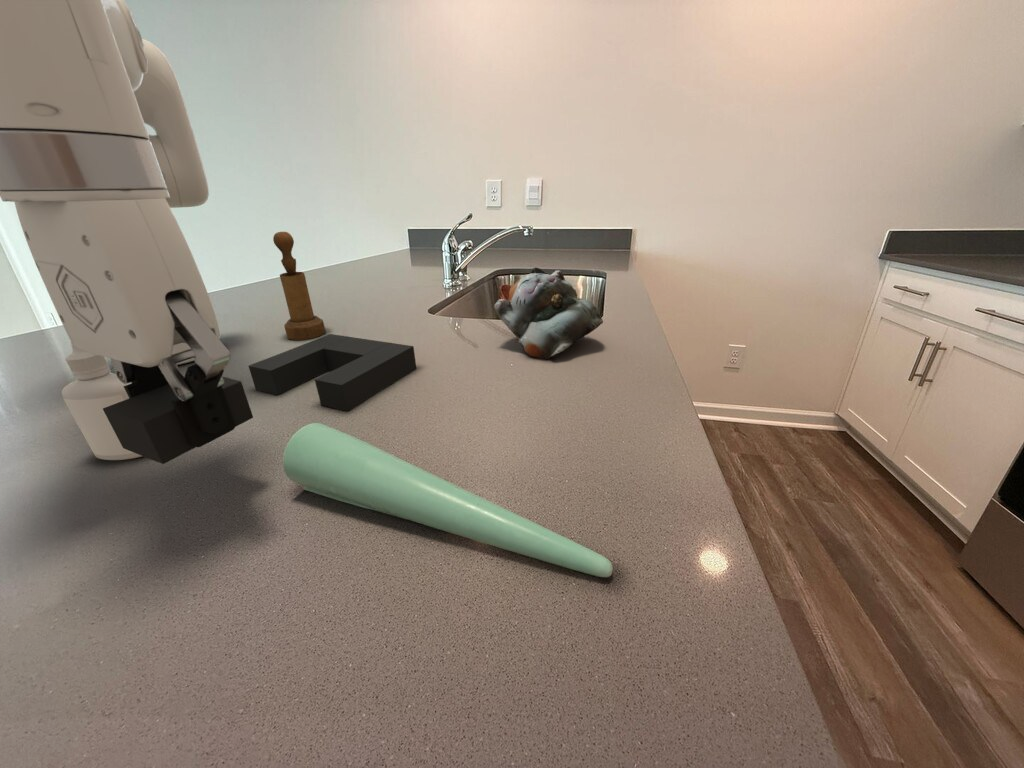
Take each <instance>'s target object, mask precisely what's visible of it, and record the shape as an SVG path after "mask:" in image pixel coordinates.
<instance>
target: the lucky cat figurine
mask: <svg viewBox="0 0 1024 768" xmlns="http://www.w3.org/2000/svg"><path fill="white" fill-rule="evenodd" d="M499 290H500V291H499V295H498V296H499V297H498V298H497V301H496V302H495V304H494V305H493V307H494V310H495V314H497V316H498V317H499V319H500V320H501V322H502V323H503V324H504V325H505V326H506V327H507V328H508V329H509V331H510V332H511V333H512V334H514V336H515V337H516V338H517V339H518V341H519V342H520V343H521V345H522V346H523V350H524V351H525V353H526V354H528V355H529V356H530V357H534V358H538V359H539V358H540V359H545V360H549V359H551V357H554V356H556V355H558V354H560V353H562V352H564V351H565V350H567V349H568V348H569V347H571V346H572V345H573V344H574V343H576V342H578V341H580V340H581V339H582V338H584V337H586V336H588V335H589V334H591V333H592V332H594V331H595V330H596V329H598V328H599V327H600V326H601V325H603V324H604V320H603V318H602V315H601V314H600V311H599V309H598V308H597V306H596V305H595V304H594V303H593V302H592V301H590V300H588V299H586V298H580V297H578V293H577V290H576V289H575V288H574V286H573V285H572V284H571V283H570V282H569V281H567V280H566V279H565V274H564V273H563V271H562V270H560V269H559V270H555V271H554V272H552V273H551V274H549V273H546V272H545V271H544V270H542V269H541V268H539V267H533V268H532V269H531V271H530V272H529V273H528V274H525V275H523V276H522V277H521V278H519V279H518V280H517V281H516V282H515V283H514V285H513V284H507V283H505V284H501V285H500V286H499Z"/></svg>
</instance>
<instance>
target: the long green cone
mask: <svg viewBox="0 0 1024 768" xmlns="http://www.w3.org/2000/svg"><path fill="white" fill-rule="evenodd" d="M282 456H283V457H282V467H283V471H284V474H285V475H286V477H287V478H288V480H290V481H291V482H293V483H295V484H297V485H301V487H302V489H303V490H304V491H308V492H312V493H314V494H317V495H320V496H324V497H327V498H330V499H332V500H335V501H338V502H339V501H340V502H343V503H347V504H350V505H353V506H357V507H360V508H364V509H369V510H373V511H376V512H379V513H383V514H386V515H390V516H394V517H396V518H400V519H404V520H407V521H410V522H413V523H418V524H421V525H424V526H426V527H430V528H434V529H437V530H440V531H444V532H447V533H450V534H453V535H457V536H459V537H463V538H466V539H469V540H473V541H477V542H480V543H483V544H485V545H490V546H493V547H495V548H499V549H502V550H506V551H509V552H513V553H516V554H519V555H522V556H526V557H530V558H533V559H535V560H539V561H543V562H546V563H549V564H553V565H555V566H560V567H563V568H566V569H570V570H573V571H577V572H581V573H584V574H587V575H591V576H595V577H598V578H599V577H600V578H610V577H611V576H612V574H613V572H614V571H613V570H614V569H613V567H614V566H613V564H612V562H611V561H610V560H609V559H608V558H607V557H606V556H604V555H602V554H600V553H597V552H596V551H594V550H592V549H590V548H588V547H586V546H584V545H582V544H580V543H578V542H576V541H574V540H572V539H569V538H568V537H566V536H563V535H561V534H559V533H558V532H555V531H553V530H551V529H549V528H546V527H544V526H543V525H541V524H538V523H536V522H534V521H532V520H530V519H528V518H526V517H524V516H522V515H520V514H517V513H515V512H513V511H511V510H509V509H507V508H505V507H502V506H501V505H499V504H497V503H494V502H492V501H490V500H488V499H487V498H484V497H481V496H480V495H478V494H475V493H473V492H471V491H469V490H467V489H465V488H463V487H462V486H458V485H456V484H455V483H453V482H450V481H448V480H446V479H445V478H442V477H440V476H438V475H436V474H434V473H431V472H429V471H427V470H425V469H423V468H421V467H419V466H416V465H415V464H412V463H410V462H408V461H406V460H404V459H402V458H400V457H397V456H396V455H393V454H392V453H389V452H387V451H385V450H383V449H381V448H379V447H376V446H375V445H372V444H371V443H369V442H366V441H364V440H362V439H359V438H357V437H355V436H353V435H351V434H348V433H345V432H344V431H341V430H338V429H336V428H333V427H331V426H328V425H326V424H323V423H319V422H314V423H309V424H306V425H305V426H303V427H301V428H300V429H299V430H297V431H296V432H295V433H294V434H293V435H292V436H291V438H290V439H289V441H288V443H287V444H286V446H285V450H284V452H283V455H282Z"/></svg>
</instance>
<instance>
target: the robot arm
mask: <svg viewBox="0 0 1024 768" xmlns="http://www.w3.org/2000/svg"><path fill="white" fill-rule="evenodd" d="M146 125H147V126H149V127H151V128H152V129H153V130H154V132H155V134H149V132H148V130H147V127H146ZM209 197H210V191H209V184H208V178H207V175H206V171H205V167H204V164H203V161H202V157H201V153H200V151H199V147H198V142H197V140H196V137H195V133H194V129H193V126H192V123H191V118H190V116H189V112H188V109H187V106H186V102H185V98H184V95H183V92H182V89H181V87H180V84H179V80H178V78H177V76H176V74H175V70H174V68H173V67H172V65H171V63H170V61H169V60H168V57H166V55H165V54H164V53H163V51H162V50H161V49H159V47H157V46H156V45H155V44H153V43H152V42H151V41H149V40H146V39H144V38H142V34H141V32H140V29H139V28H138V26H137V23H136V20H135V18H134V15H133V13H132V11H131V9H130V8H129V6H128V4H127V3H126V1H125V0H0V199H1V202H4V203H5V202H6V203H7V202H10V203H14V206H15V209H16V213H17V216H18V220H19V224H20V226H21V227H20V228H21V229H22V232H23V235H24V238H25V241H26V243H27V246H28V249H29V251H30V254H31V256H32V259H33V261H34V263H35V266H36V268H37V271H38V273H39V275H40V277H41V280H42V282H43V284H44V286H45V288H46V291H47V293H48V295H49V297H50V300H51V302H52V304H53V306H54V308H55V312H56V313H57V315H58V317H59V319H60V321H61V324H62V326H63V328H64V331H65V333H66V335H67V336H68V339H69V340H70V343H71V342H72V343H73V344H74V345H75V346H76V347H78V348H79V349H81V350H83V351H86V352H89V353H92V354H96V355H100V356H103V357H104V358H107V359H110V360H111V363H112V367H113V370H114V373H115V374H116V376H117V377H118V379H119V380H120V381H121V382H122V383H123V384H128V383H130V382H131V383H132V384H129V385H126V386H124V388H125V391H126V393H127V395H128V397H129V398H132V397H135V396H137V395H140V394H143V393H145V392H148V391H151V390H154V389H156V388H159V387H162V386H164V385H167V384H169V385H170V387H171V388H172V390H173V392H174V393H175V395H176V396H177V399H174V400H172V401H171V402H172V405H173V407H174V409H175V412H176V414H177V416H178V418H179V421H180V423H181V425H182V428H183V430H184V432H185V435H186V437H187V439H188V442H189V444H190V445H191V446H194V447H195V448H201V447H203V446H205V445H207V444H209V443H211V442H214V441H215V440H217V439H219V438H220V437H222V436H225V435H226V434H228V433H230V432H232V431H234V430H235V429H236V427H237V426H236V425H235V421H234V419H233V416H232V413H231V410H230V408H229V405H228V402H227V399H226V397H225V394H224V391H223V388H222V386H223V385H224V380H223V377H224V376H223V374H224V372H225V368H226V367H227V365H228V364H229V362H230V361H231V359H232V355H231V352H230V351H229V350H228V348H227V347H226V346H225V344H224V343H223V342H222V340H220V339H221V332H220V328H219V324H218V321H217V317H216V313H215V310H214V306H213V304H212V302H211V298H210V296H209V293H208V290H207V288H206V285H205V282H204V280H203V278H202V275H201V273H200V270H199V268H198V265H197V263H196V260H195V258H194V256H193V253H192V251H191V248H190V247H189V244H188V242H187V240H186V237H185V235H184V233H183V231H182V229H181V227H180V225H179V223H178V220H177V219H176V216H175V214H174V213H173V211H172V209H178V208H179V209H180V208H194V207H199V206H202V205H204V204H206V203H207V201H208V199H209ZM192 362H194V363H193V364H192V365H190V366H187V368H186V371H185V374H184V375H183V373H182V371H181V369H180V367H179V366H180V365H183V364H187V363H192ZM235 426H236V427H235Z"/></svg>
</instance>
